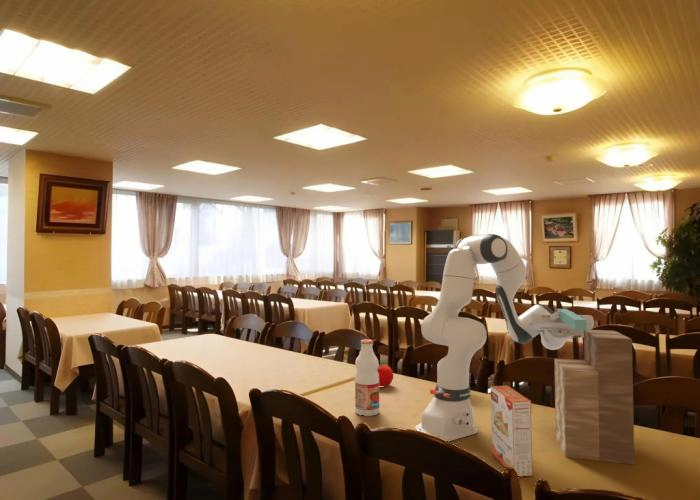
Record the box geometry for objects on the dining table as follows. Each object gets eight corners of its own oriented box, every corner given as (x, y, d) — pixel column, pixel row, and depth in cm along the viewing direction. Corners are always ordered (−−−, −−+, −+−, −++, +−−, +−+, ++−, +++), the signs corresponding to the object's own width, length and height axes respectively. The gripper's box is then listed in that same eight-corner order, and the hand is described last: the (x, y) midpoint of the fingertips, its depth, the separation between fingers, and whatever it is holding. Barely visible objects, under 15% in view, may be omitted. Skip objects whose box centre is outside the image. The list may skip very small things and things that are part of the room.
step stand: (555, 436, 140) (553, 328, 141) (616, 442, 135) (614, 330, 136) (565, 456, 126) (563, 336, 126) (634, 464, 121) (631, 339, 122)
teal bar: (557, 317, 150) (557, 308, 150) (566, 317, 149) (566, 309, 149) (575, 329, 125) (575, 319, 125) (586, 330, 124) (586, 319, 124)
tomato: (363, 385, 197) (363, 363, 197) (380, 380, 205) (379, 359, 205) (382, 391, 188) (381, 368, 189) (398, 386, 196) (398, 364, 197)
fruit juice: (358, 407, 169) (357, 337, 170) (381, 409, 167) (380, 338, 167) (352, 415, 160) (352, 342, 160) (377, 417, 158) (376, 343, 158)
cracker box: (490, 454, 128) (489, 385, 128) (509, 453, 128) (508, 384, 129) (512, 478, 114) (511, 400, 114) (533, 477, 114) (532, 400, 115)
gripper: (527, 319, 161) (531, 304, 149) (586, 320, 155) (595, 305, 144) (528, 335, 157) (533, 321, 146) (589, 337, 152) (599, 323, 140)
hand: (564, 313), depth 145 cm, fingers closed on teal bar, 3 cm apart
